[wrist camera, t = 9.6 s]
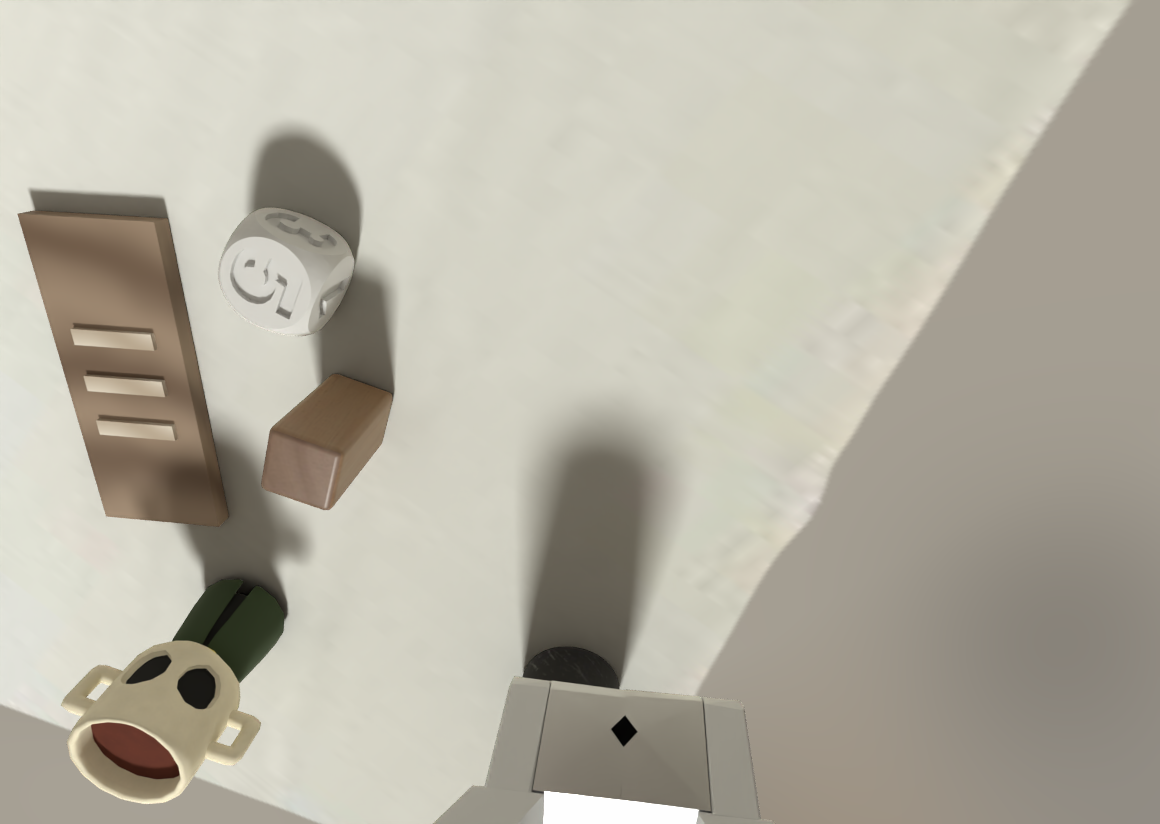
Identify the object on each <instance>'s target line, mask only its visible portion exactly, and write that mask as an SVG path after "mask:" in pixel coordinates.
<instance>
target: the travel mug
mask: <svg viewBox="0 0 1160 824" xmlns="http://www.w3.org/2000/svg"><path fill="white" fill-rule="evenodd" d="M523 677H524V678H532V679H539V680H547V681H560V682H567V683H575V684H582V685H590V686H597V687H605V688H612V689H619V684H618V680H617V677H616V674H615V672H614V670H613V669H612V668H611V666H610V665H609V664H608V663H607V662H606V661H605V660H604V659H602V658H601V657H599V656H598V655H596V654H594V653H592V652H590V651H587V650H584V649H580V648H574V647H558V648H553V649H549V650H546V651H544V652H542V653H540V654H538V655H537V656H535V657H534V658H533V659H532V660H531V661H530V662H529V664H528V665H527V667H526V669H525V671H524V674H523Z"/></svg>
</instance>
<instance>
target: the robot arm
mask: <svg viewBox="0 0 1160 824" xmlns="http://www.w3.org/2000/svg"><path fill="white" fill-rule="evenodd" d="M433 824H775V822H774V821H770V820H763V819H761V817H760V810H759V804H758V797H757V790H756V783H755V776H754V770H753V763H752V756H751V750H750V743H749V736H748V729H747V722H746V716H745V709H744V706H743V704H742V703H741V701H738V700H729V699H718V698H708V697H702V698H700V696H690V695H679V694H669V693H658V692H648V691H637V690H627V689H626V690H620V689H612V688H605V687H597V686H590V685H582V684H575V683H567V682H560V681H547V680H539V679H532V678H524V677H516V676H514V678H513V680H512V682H511V684H510V686H509V690H508V694H507V698H506V702H505V706H504V710H503V714H502V718H501V722H500V726H499V730H498V734H497V738H496V742H495V746H494V750H493V754H492V758H491V762H490V766H489V770H488V775H487V779H486V783H485V786H474V785H473V786H472V787H471V788H470V789H469V790H468V791H466V792H465V793H464V794H463V795H462V796H461V797H460V798H459V799H458V800H457V801H456V802H455V803H454V804H453V805H452V806H451V807H450V808H449V809H448V810H447V811H446V812H445V813H444V814H443V815H441V816H440V817H439V818H438V819H437V820H436V821H435V822H434V823H433Z"/></svg>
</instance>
